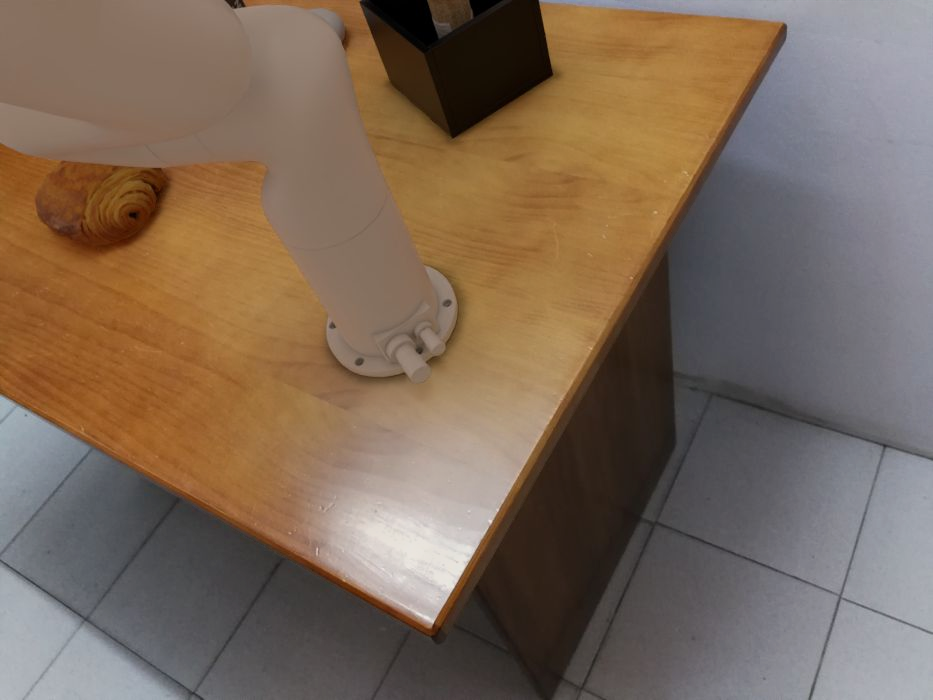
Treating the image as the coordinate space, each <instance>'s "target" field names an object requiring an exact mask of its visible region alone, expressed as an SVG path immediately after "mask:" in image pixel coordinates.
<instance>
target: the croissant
mask: <svg viewBox="0 0 933 700" xmlns="http://www.w3.org/2000/svg"><path fill="white" fill-rule="evenodd" d="M162 169H163V168H144V167H127V166H115V165H104V164H93V163H82V162H72V161H61V160H60V162H59V163H58V164H57V165H56V166H55V167H53V169H52V170H51V171H50V172H48V173H47V174H46V175H45V177H44V179H43V182H42V184H41V186H40V187H38V188H37V192H36V195H35V196H34V204H35V208H36V215H37V217H38V219H39V221H40V222H41V223H42V224H43V225H45V226H47V228H48V229H49V230H50V232H53V233H54V234H56V235H58V236H59V237H65V238H67V239H69V240H71V241H74V242H79V243H81V244H84V245H96V246H97V245H98V246H105V245H112V244H115V243H117V242H119V241H121V240H125V239H128V238H131V237H133V236H135V234H136V233H138V232H139V231H140V230H141V229H142V228H143V227H144V225H145V224H146V222H147V221H148V220H149V217H150V215H151V213H153V212H154V211H155V210H156V202H157V200H159V199H160V198H161V197H162V195H163V194H164V192H163V191H164V190H165V185H166V184H165V183H166V181H165V176H164V175H163V172H162Z"/></svg>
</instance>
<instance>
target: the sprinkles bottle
mask: <svg viewBox="0 0 933 700" xmlns="http://www.w3.org/2000/svg"><path fill="white" fill-rule="evenodd" d="M427 1H428V4H429V7H430V11H431V14H432V19H433V22H434V25H435V29H436V32H437V35H438V38H439V39H440V38H442V37H443V36H445V35H447V34H448V33H450V32H452V31H453V30H455V29H456V28H458V27H460V26H461V25H463V24H465V23H466V22H468V21H470V20H471V19H473V18H474V16H473V12H472V9H471V6H470V3H469V0H427Z"/></svg>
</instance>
